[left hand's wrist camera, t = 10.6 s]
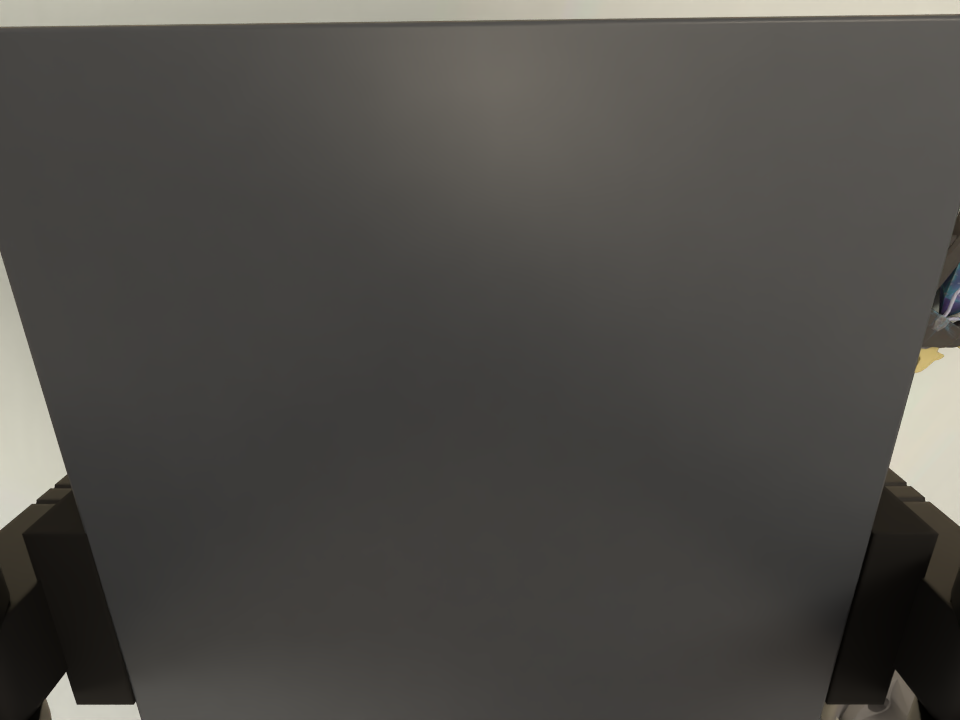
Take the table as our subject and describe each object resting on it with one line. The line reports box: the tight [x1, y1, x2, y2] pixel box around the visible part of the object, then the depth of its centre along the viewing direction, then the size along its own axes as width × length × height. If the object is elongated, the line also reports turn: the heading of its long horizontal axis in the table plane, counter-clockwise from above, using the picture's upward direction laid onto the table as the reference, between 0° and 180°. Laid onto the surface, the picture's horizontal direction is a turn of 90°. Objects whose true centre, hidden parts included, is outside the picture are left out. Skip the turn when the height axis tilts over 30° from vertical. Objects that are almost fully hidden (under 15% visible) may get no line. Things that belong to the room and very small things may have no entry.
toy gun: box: [915, 212, 960, 373], centre depth 31 cm, size 3×19×10 cm
